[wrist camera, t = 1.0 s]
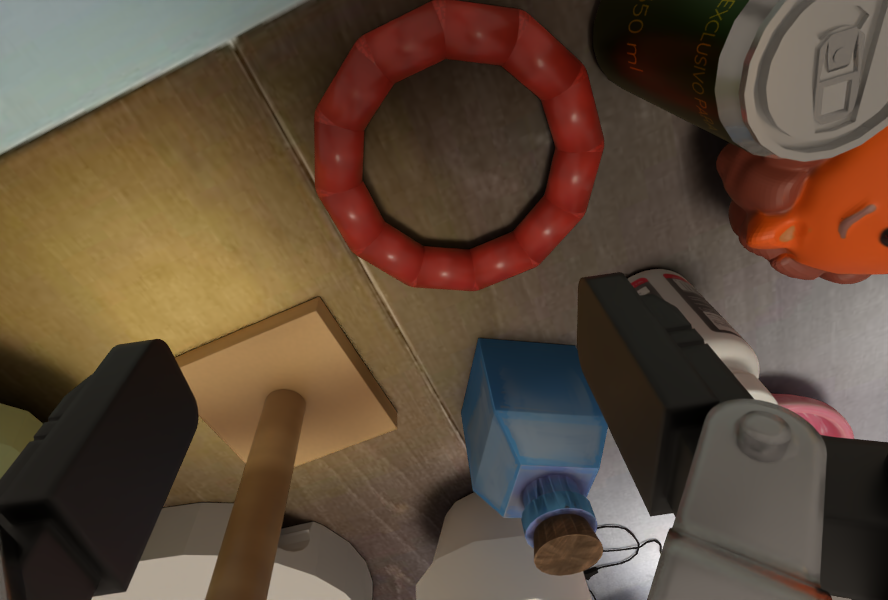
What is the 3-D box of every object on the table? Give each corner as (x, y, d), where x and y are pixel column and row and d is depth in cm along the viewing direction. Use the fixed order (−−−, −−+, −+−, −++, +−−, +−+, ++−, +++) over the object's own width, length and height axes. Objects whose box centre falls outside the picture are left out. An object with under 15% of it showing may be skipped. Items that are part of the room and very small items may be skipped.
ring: (261, 83, 23) (249, 93, 21) (545, -59, 21) (560, -62, 19) (393, 310, 30) (393, 332, 28) (618, 218, 28) (633, 236, 26)
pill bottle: (606, 351, 33) (677, 477, 25) (596, 281, 30) (672, 397, 22) (691, 327, 33) (792, 448, 24) (689, 254, 30) (802, 363, 21)
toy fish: (775, 253, 30) (954, 386, 21) (634, 177, 27) (768, 292, 17) (961, 49, 25) (1320, 98, 15) (813, -76, 22) (1147, -114, 12)
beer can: (708, 68, 24) (931, 135, 14) (595, 104, 25) (733, 194, 15) (706, -67, 22) (983, -103, 11) (579, -24, 22) (736, -22, 12)
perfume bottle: (549, 417, 36) (611, 594, 26) (461, 412, 35) (488, 593, 25) (575, 345, 33) (656, 514, 22) (478, 338, 32) (518, 510, 22)
